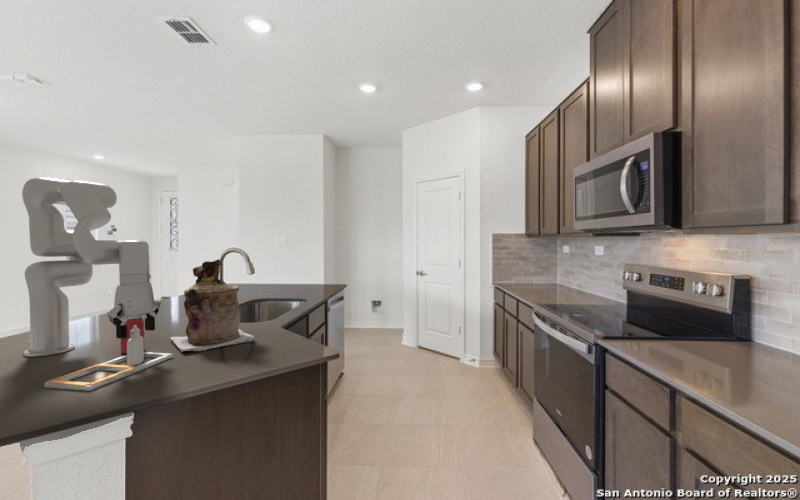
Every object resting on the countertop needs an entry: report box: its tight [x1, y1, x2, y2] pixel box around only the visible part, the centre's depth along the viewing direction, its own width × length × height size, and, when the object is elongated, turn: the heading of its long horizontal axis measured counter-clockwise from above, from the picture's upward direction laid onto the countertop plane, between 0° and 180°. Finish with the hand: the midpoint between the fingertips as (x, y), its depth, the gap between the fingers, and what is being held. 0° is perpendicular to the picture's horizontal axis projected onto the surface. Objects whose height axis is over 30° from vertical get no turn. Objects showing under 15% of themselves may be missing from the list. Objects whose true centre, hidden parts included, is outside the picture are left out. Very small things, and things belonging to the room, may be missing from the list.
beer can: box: [120, 315, 145, 355], centre depth 121 cm, size 7×7×12 cm
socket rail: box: [44, 351, 174, 392], centre depth 103 cm, size 14×26×1 cm, turn 171°
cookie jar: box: [170, 258, 255, 353], centre depth 133 cm, size 25×25×32 cm
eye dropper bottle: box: [126, 325, 145, 366], centre depth 109 cm, size 4×6×12 cm
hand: (136, 334), depth 108 cm, fingers open, 9 cm apart
